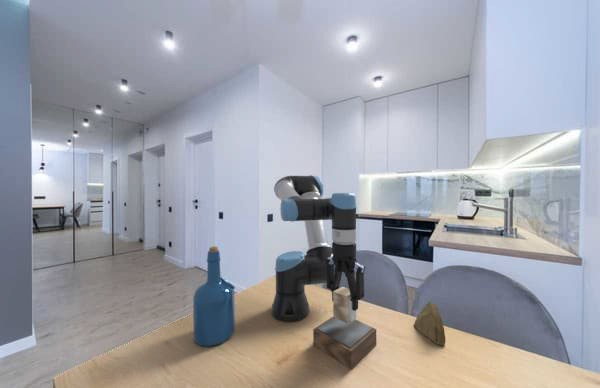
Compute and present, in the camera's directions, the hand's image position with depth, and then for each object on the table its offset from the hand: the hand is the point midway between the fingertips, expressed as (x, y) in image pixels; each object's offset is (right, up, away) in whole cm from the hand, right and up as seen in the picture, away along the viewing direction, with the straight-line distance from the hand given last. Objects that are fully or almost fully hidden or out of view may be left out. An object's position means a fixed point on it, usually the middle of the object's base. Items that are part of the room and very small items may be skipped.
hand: (344, 315), depth 71 cm
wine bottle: (-43, -10, +6) cm, 45 cm away
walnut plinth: (0, -9, 0) cm, 9 cm away
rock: (+29, -9, +5) cm, 31 cm away
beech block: (0, 0, 0) cm, 0 cm away
